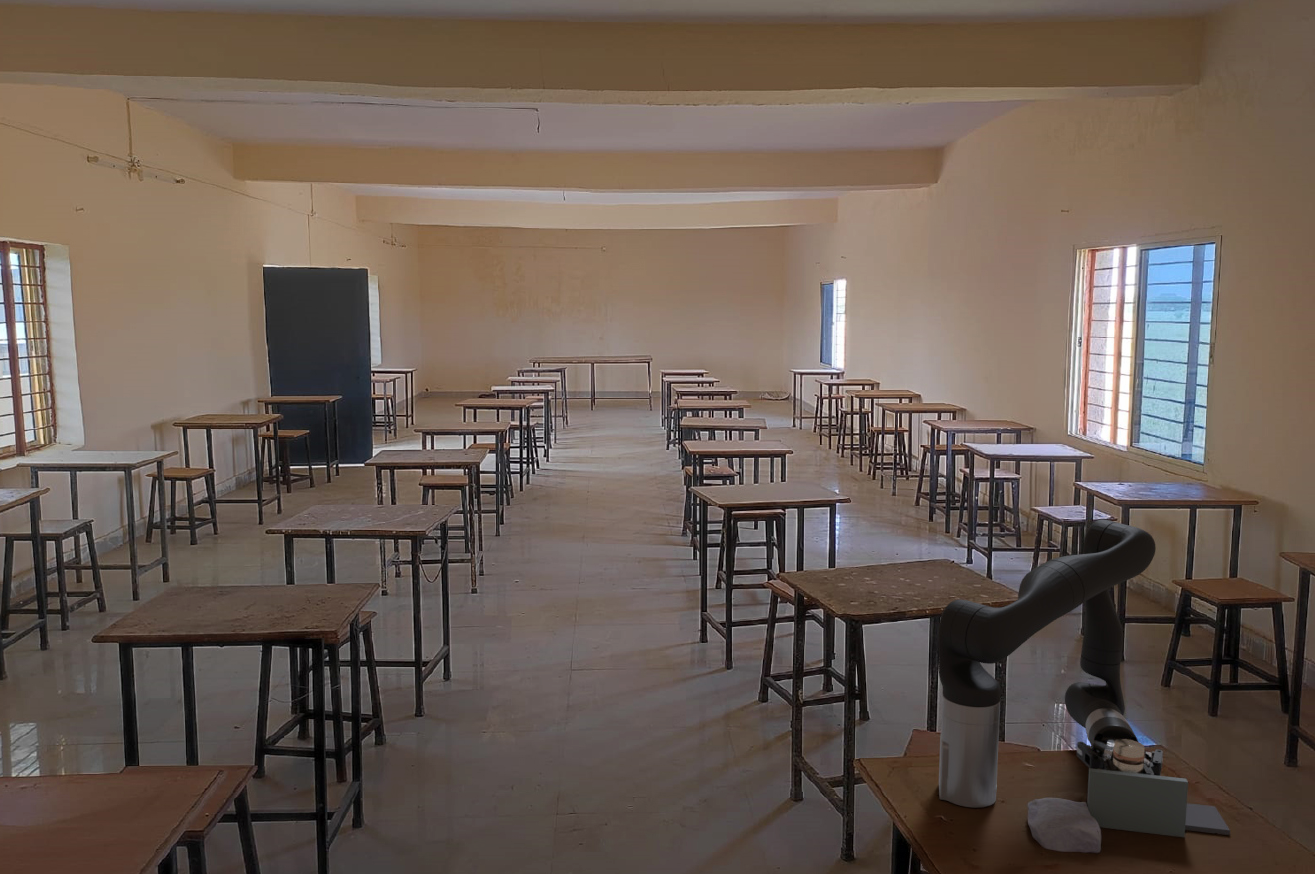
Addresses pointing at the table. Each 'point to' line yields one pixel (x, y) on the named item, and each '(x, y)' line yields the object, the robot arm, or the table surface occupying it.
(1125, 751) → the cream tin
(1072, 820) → the stone block
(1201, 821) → the dark rubber mat
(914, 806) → the table surface
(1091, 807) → the slate screen
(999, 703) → the robot arm
